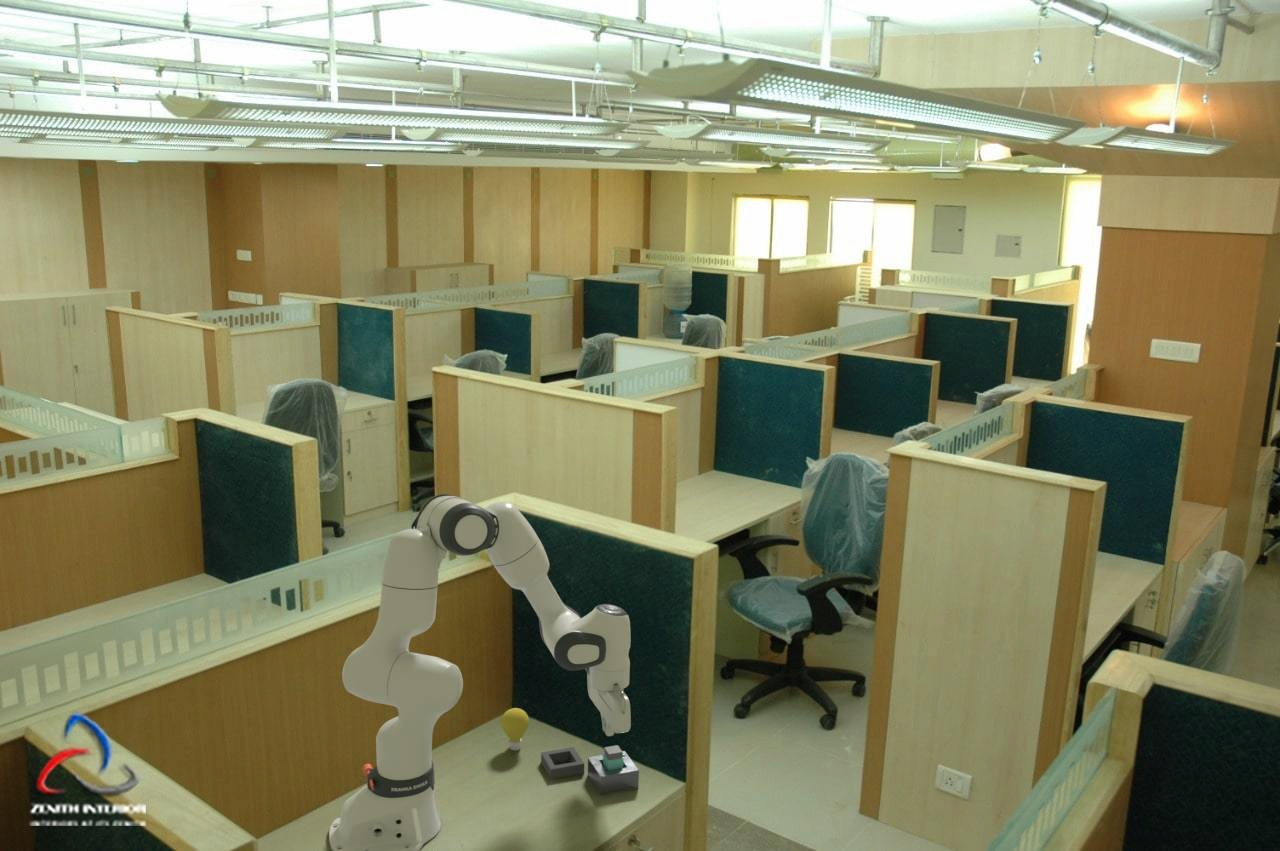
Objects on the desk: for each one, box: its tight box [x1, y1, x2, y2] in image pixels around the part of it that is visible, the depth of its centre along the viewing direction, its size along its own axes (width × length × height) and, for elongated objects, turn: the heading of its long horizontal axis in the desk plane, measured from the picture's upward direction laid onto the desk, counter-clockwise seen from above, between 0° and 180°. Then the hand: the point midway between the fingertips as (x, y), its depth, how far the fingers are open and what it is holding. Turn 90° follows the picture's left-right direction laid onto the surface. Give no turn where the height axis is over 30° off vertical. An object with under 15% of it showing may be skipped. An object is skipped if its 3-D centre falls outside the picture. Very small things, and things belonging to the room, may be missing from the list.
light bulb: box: [500, 707, 530, 751], centre depth 253 cm, size 7×7×10 cm
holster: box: [540, 746, 585, 780], centre depth 245 cm, size 8×8×2 cm
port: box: [587, 750, 640, 796], centre depth 239 cm, size 9×9×5 cm
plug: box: [602, 744, 623, 771], centre depth 239 cm, size 4×4×8 cm
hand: (608, 733), depth 238 cm, fingers closed
